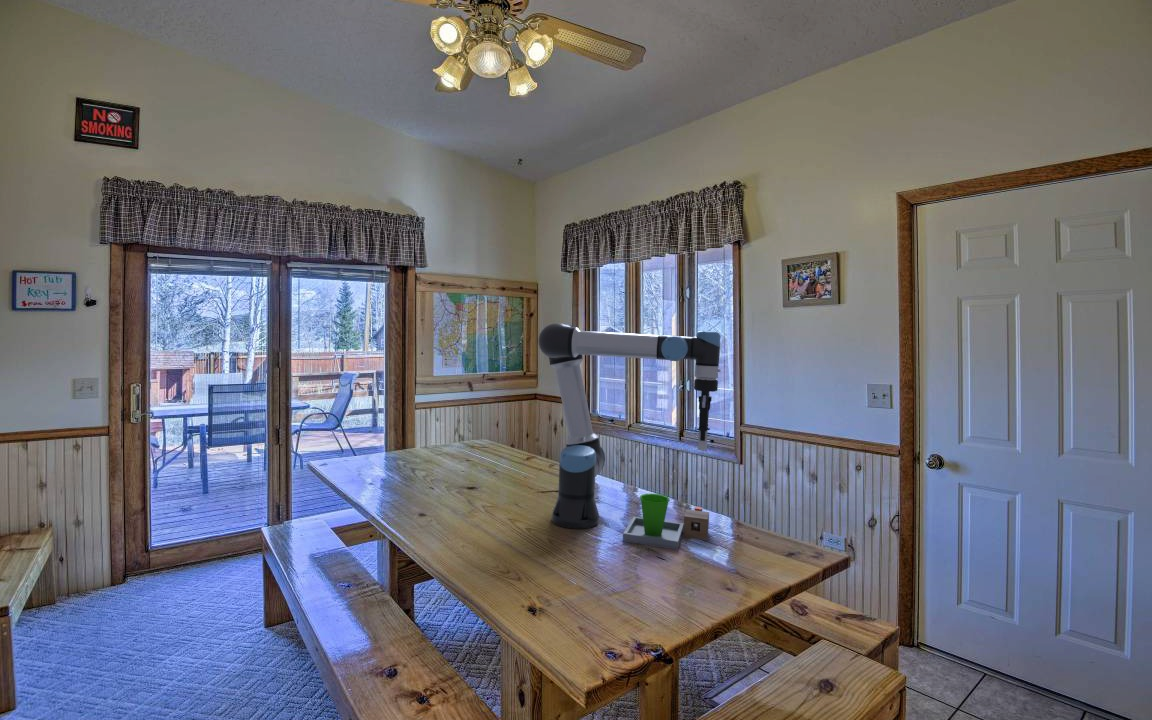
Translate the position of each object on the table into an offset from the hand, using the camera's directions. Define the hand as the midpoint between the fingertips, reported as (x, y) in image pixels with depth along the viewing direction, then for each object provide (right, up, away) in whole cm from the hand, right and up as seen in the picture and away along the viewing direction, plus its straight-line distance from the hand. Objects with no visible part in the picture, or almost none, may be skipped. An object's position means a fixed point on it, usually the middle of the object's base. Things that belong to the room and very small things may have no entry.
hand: (702, 450), depth 178 cm
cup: (-18, -23, -13) cm, 33 cm away
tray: (-18, -24, -14) cm, 33 cm away
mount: (-5, -24, -11) cm, 27 cm away
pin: (-4, -23, -9) cm, 25 cm away
